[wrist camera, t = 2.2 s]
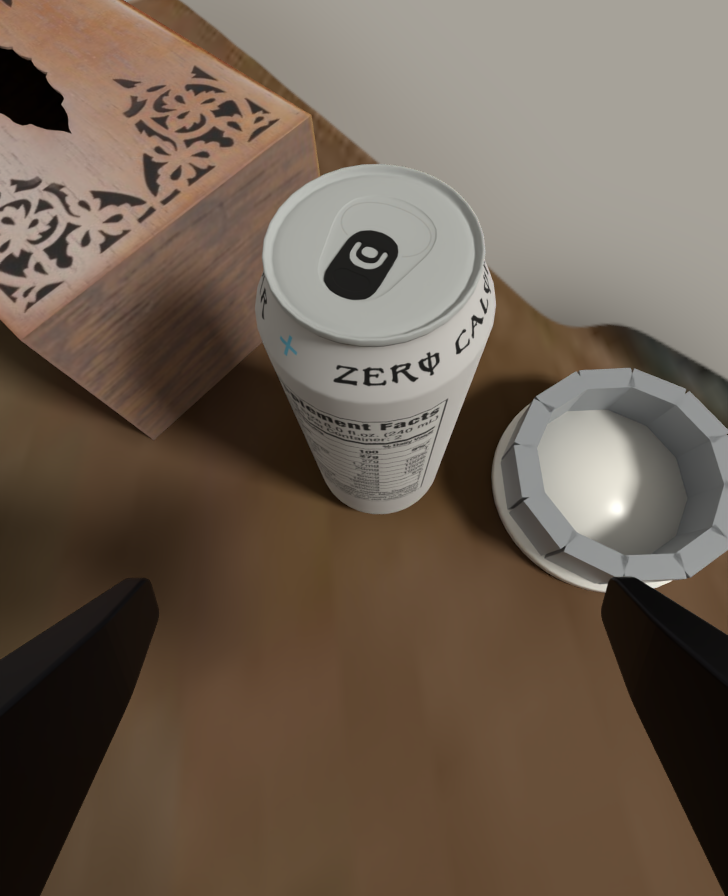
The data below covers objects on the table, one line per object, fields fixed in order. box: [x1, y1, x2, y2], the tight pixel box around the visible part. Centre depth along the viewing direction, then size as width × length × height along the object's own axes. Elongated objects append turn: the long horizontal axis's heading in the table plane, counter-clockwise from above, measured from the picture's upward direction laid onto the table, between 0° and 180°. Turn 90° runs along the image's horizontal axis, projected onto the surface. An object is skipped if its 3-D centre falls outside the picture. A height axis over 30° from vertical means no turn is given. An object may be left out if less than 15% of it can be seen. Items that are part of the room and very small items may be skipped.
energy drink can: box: [255, 164, 496, 514], centre depth 17 cm, size 6×6×15 cm
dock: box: [491, 368, 728, 593], centre depth 21 cm, size 10×10×3 cm
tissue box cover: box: [0, 0, 320, 440], centre depth 25 cm, size 26×14×10 cm, turn 48°
